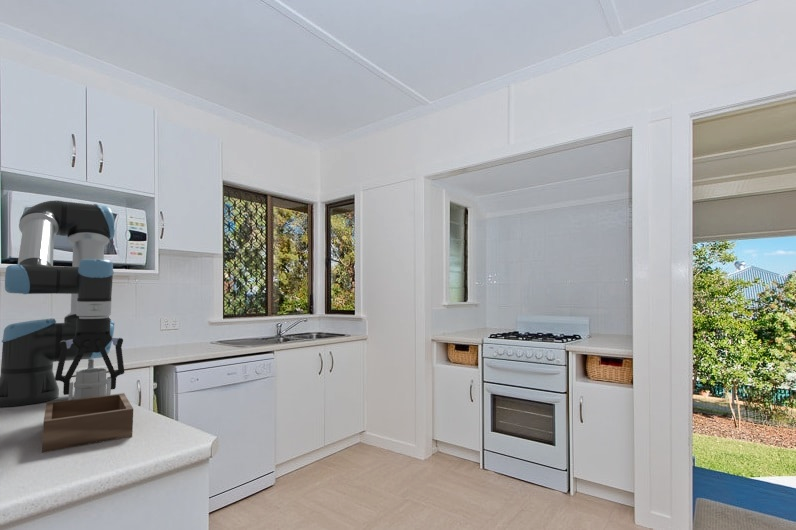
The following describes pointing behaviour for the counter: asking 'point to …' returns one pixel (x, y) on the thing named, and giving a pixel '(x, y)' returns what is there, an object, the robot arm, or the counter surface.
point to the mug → (90, 382)
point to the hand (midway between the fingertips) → (89, 404)
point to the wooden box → (86, 421)
